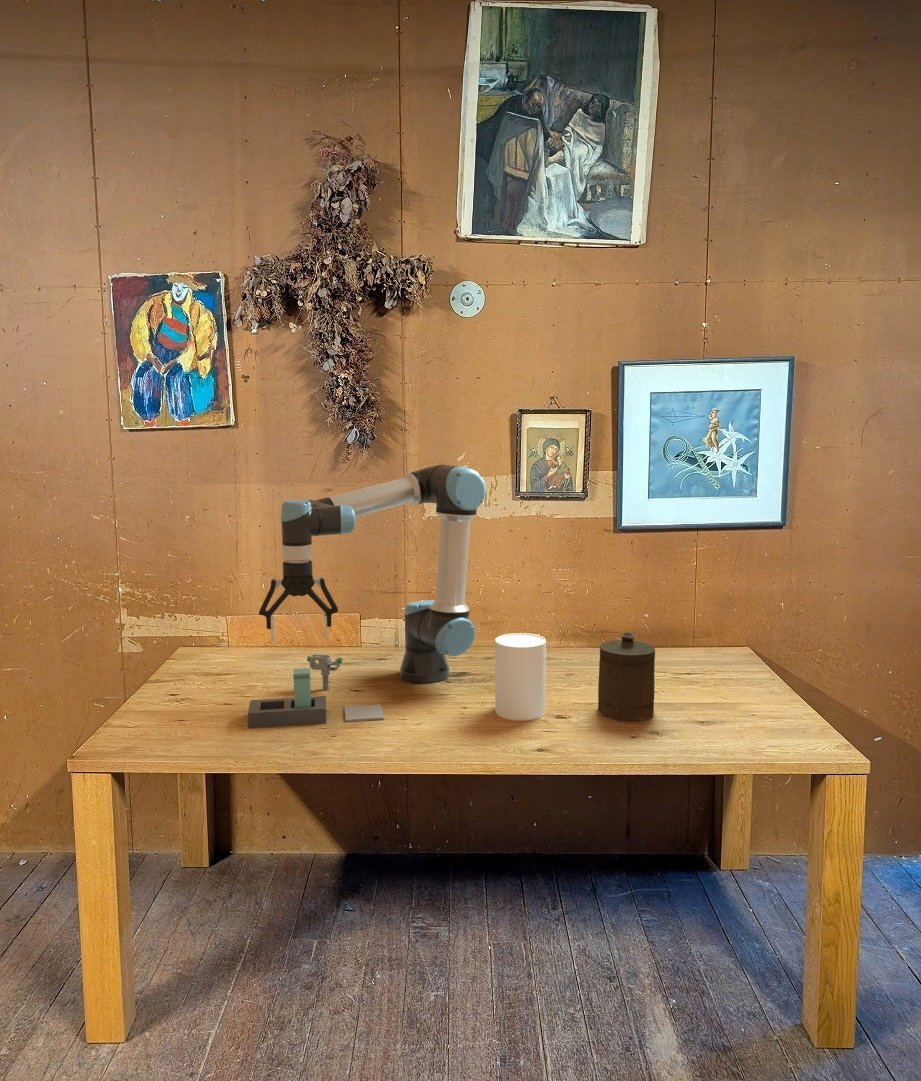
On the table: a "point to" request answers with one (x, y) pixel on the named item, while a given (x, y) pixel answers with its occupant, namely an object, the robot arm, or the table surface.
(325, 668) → the mechanical component
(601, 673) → the wooden container
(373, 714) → the mat
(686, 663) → the table surface
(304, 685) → the plug
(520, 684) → the canister
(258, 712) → the cinder block
